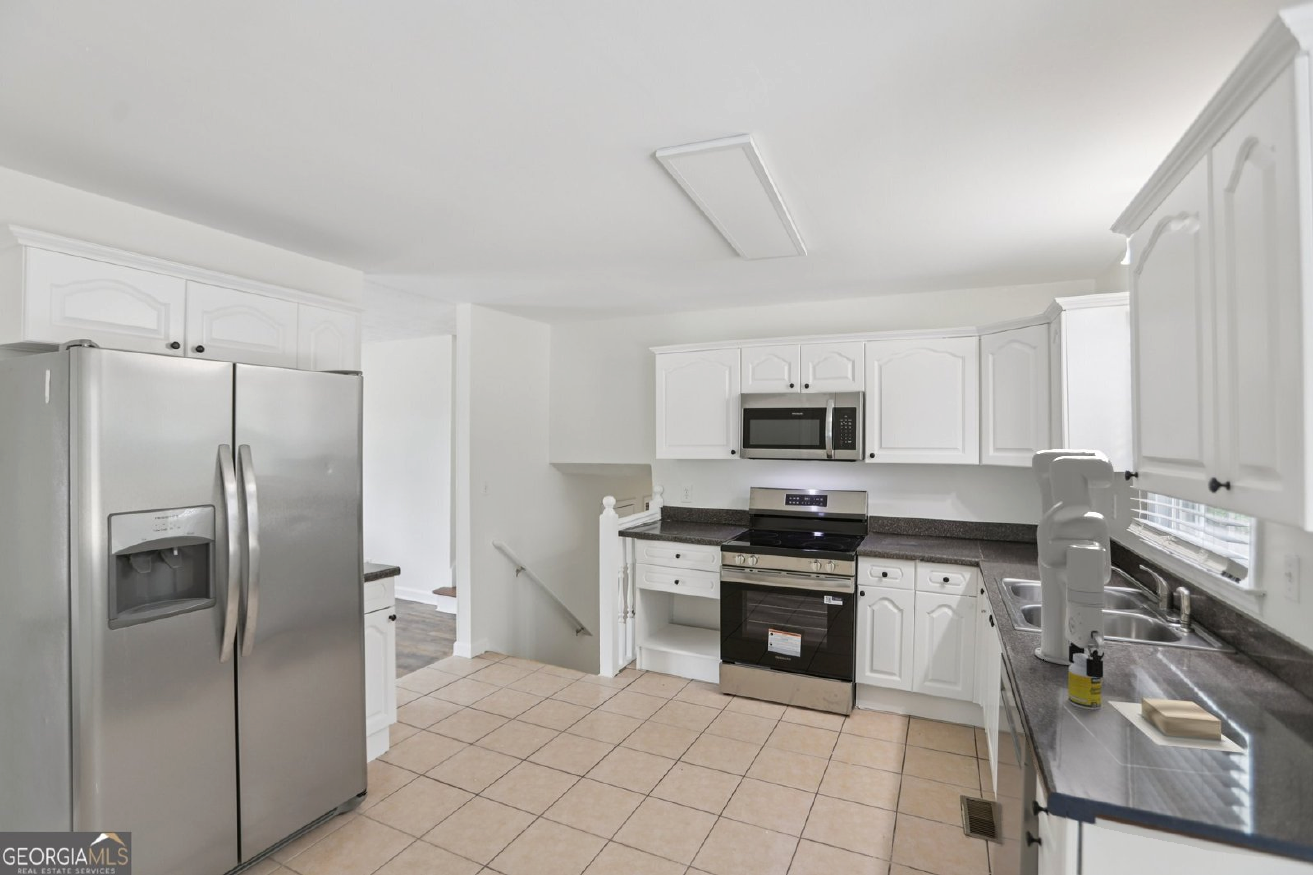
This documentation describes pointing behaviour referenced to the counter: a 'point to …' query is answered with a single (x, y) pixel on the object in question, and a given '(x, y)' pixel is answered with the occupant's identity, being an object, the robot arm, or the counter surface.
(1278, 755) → the counter surface
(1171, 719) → the pedestal block
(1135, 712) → the off-white paper sheet
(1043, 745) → the counter surface
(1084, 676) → the pill bottle
